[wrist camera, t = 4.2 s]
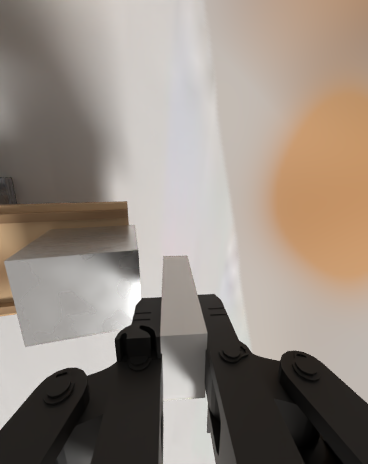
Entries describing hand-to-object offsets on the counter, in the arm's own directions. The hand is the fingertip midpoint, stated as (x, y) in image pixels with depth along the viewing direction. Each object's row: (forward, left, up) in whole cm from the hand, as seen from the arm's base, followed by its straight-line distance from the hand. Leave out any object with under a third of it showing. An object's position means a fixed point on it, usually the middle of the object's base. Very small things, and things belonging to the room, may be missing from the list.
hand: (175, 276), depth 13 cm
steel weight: (0, -6, -4) cm, 7 cm away
